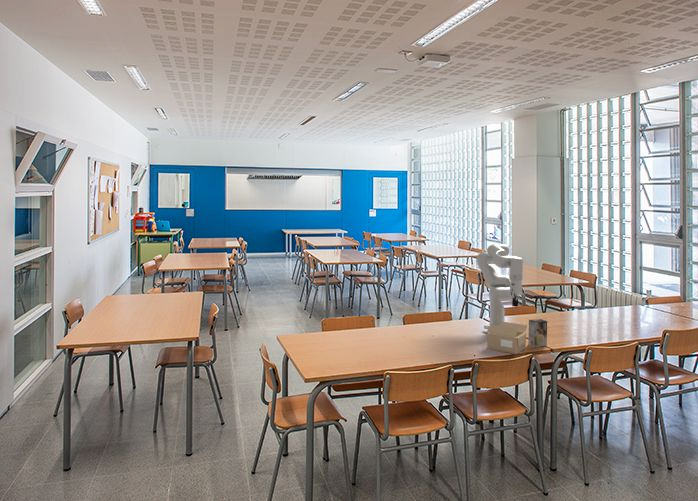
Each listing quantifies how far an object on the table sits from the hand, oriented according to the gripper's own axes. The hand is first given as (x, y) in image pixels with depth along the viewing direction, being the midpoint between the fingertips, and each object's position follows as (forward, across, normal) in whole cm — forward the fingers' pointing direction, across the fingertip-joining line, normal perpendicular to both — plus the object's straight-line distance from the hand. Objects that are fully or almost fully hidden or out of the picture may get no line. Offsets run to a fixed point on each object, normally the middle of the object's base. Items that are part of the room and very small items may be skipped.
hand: (515, 306), depth 312 cm
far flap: (+13, -2, 0) cm, 13 cm away
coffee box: (+24, +5, -13) cm, 28 cm away
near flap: (+12, -19, 0) cm, 22 cm away
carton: (+24, -13, 0) cm, 27 cm away
